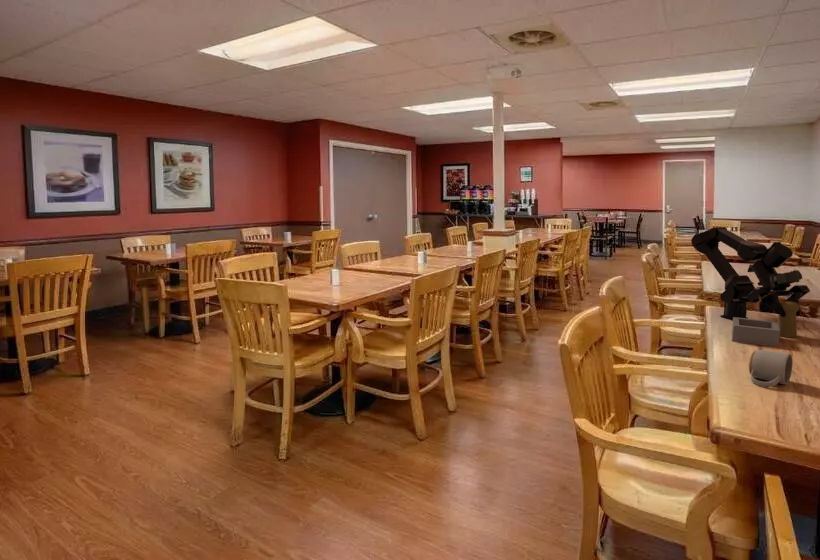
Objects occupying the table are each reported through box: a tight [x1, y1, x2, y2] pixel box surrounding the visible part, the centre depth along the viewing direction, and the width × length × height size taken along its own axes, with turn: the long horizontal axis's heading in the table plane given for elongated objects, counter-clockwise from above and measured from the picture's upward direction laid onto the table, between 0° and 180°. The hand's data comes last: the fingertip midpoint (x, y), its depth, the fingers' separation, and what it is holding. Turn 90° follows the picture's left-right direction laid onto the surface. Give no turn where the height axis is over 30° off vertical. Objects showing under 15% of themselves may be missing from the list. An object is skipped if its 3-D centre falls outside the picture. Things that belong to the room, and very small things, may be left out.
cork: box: [777, 300, 800, 338], centre depth 173 cm, size 6×6×11 cm
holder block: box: [731, 317, 780, 347], centre depth 170 cm, size 12×12×5 cm
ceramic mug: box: [748, 349, 793, 388], centre depth 135 cm, size 11×8×8 cm
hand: (791, 316), depth 172 cm, fingers closed on cork, 5 cm apart
